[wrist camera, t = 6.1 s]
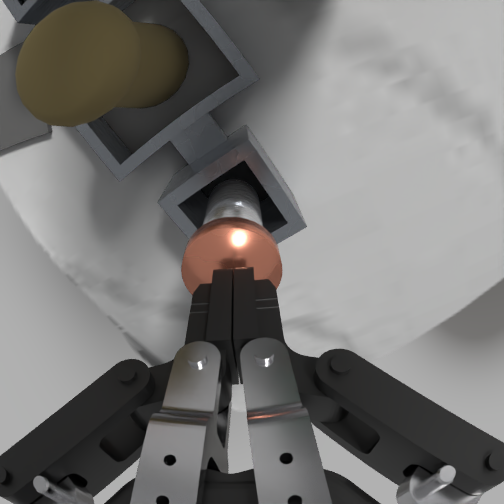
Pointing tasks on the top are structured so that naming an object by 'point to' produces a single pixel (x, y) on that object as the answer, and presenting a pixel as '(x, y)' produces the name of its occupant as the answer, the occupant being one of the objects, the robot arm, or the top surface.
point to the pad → (15, 106)
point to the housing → (191, 138)
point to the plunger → (231, 238)
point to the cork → (96, 64)
